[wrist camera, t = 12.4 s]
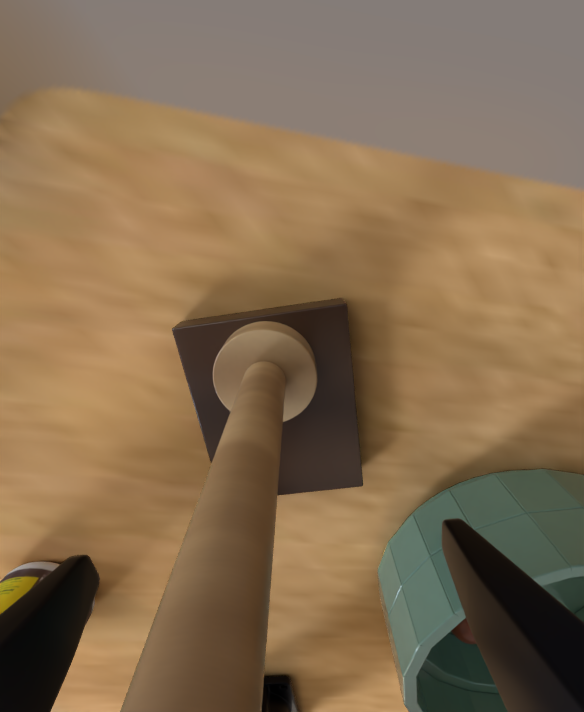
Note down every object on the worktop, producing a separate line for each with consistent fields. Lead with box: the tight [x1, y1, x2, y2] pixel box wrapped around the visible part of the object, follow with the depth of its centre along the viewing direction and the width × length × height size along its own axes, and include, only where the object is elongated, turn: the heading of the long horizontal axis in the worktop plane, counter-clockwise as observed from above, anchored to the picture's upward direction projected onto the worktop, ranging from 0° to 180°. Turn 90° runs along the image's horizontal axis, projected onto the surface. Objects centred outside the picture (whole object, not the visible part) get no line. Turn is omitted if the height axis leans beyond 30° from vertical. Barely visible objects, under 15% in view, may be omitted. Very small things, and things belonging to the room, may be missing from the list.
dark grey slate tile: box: [172, 298, 363, 495], centre depth 15 cm, size 9×7×1 cm
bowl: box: [378, 469, 584, 712], centre depth 16 cm, size 14×14×6 cm
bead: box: [451, 618, 477, 644], centre depth 18 cm, size 2×2×2 cm
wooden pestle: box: [120, 321, 317, 712], centre depth 8 cm, size 4×4×11 cm
